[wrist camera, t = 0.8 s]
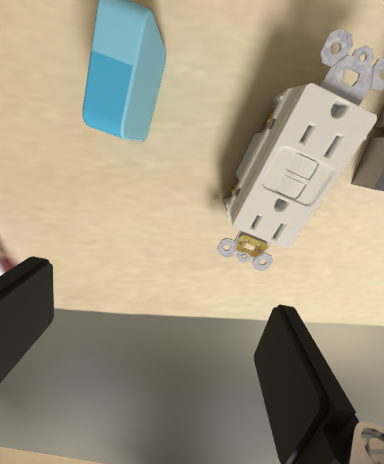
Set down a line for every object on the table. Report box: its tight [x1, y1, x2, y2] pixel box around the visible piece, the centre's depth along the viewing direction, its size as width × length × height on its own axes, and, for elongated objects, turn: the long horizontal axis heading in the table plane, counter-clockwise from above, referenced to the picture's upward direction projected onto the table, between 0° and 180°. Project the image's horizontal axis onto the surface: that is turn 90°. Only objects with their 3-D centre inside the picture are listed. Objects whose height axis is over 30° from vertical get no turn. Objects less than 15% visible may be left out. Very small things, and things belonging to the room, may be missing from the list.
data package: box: [83, 0, 166, 141], centre depth 27 cm, size 12×4×12 cm, turn 161°
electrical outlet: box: [217, 28, 384, 271], centre depth 32 cm, size 12×28×10 cm, turn 158°
